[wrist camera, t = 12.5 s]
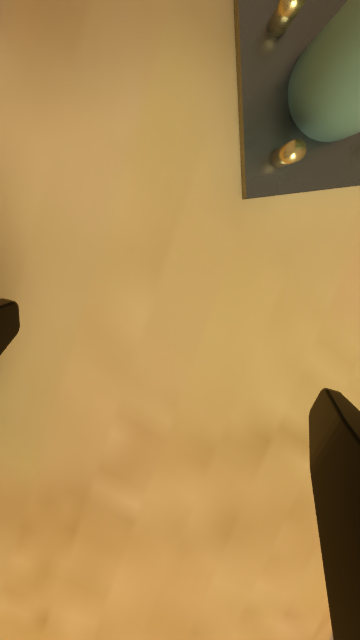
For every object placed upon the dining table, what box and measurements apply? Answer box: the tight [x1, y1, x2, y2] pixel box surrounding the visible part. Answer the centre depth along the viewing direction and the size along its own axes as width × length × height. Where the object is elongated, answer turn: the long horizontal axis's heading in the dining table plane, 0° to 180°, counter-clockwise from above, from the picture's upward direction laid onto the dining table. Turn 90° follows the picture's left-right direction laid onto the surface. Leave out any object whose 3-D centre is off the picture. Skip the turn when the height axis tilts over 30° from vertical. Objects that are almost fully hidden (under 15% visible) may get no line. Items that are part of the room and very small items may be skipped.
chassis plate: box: [234, 0, 360, 199], centre depth 16 cm, size 10×10×4 cm
